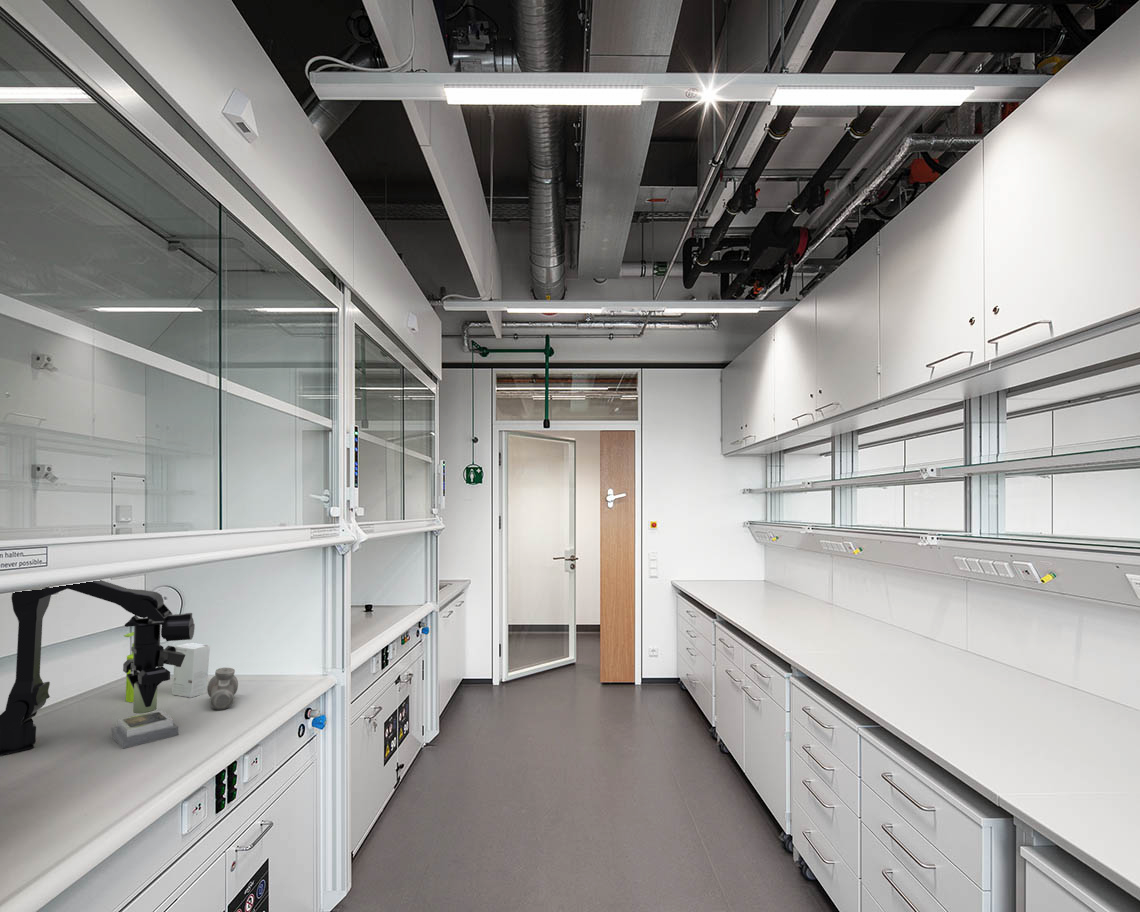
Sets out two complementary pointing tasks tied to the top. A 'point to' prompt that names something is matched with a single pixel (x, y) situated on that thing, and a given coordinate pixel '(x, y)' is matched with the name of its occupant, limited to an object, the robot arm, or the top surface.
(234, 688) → the pipe fitting
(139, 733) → the grey square holder
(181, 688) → the skincare box
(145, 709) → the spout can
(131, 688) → the soap dispenser
